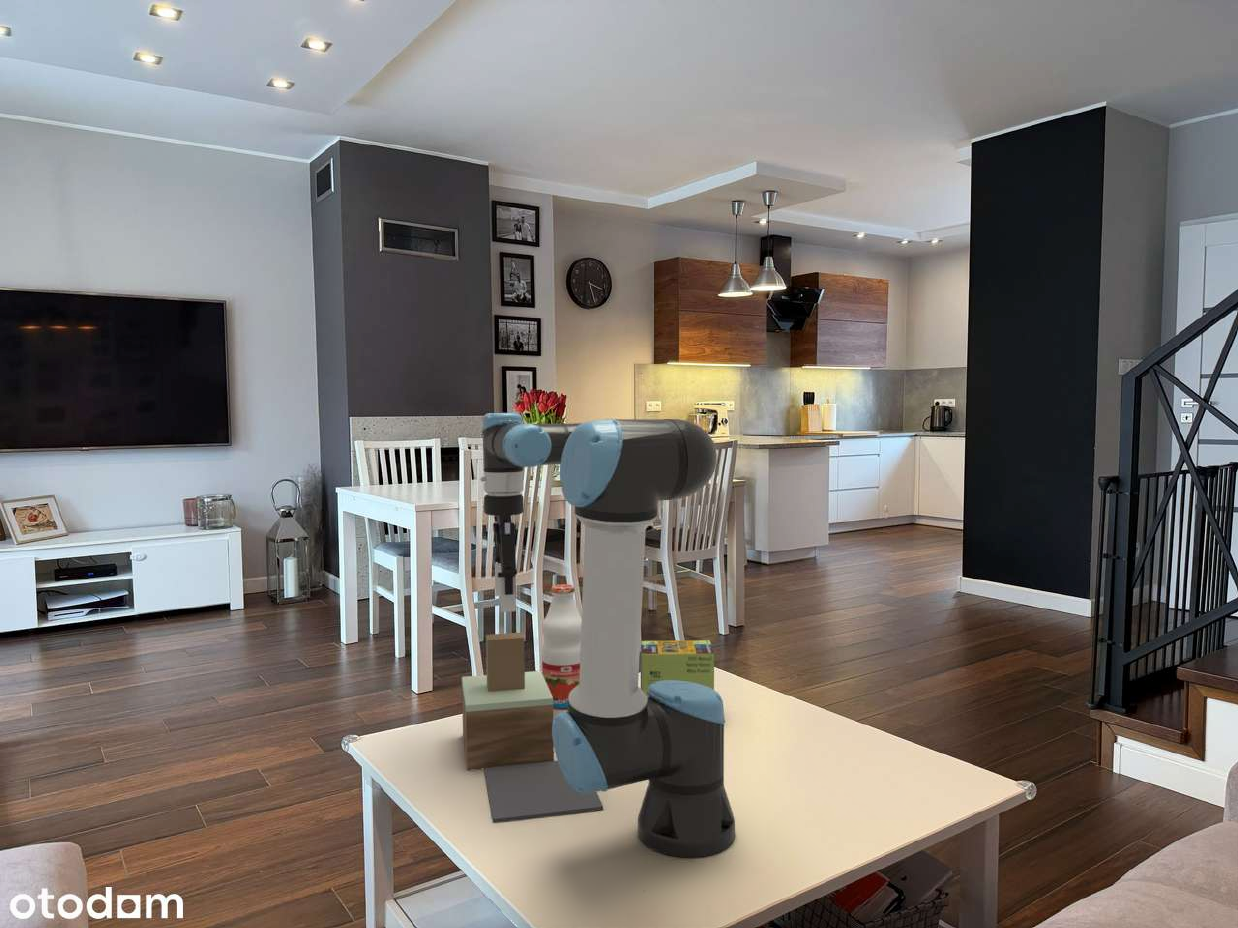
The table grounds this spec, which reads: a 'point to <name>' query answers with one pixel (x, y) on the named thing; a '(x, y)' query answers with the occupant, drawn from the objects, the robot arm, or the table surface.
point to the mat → (534, 792)
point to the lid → (505, 678)
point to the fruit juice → (561, 646)
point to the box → (507, 736)
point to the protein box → (677, 662)
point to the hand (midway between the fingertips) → (505, 603)
